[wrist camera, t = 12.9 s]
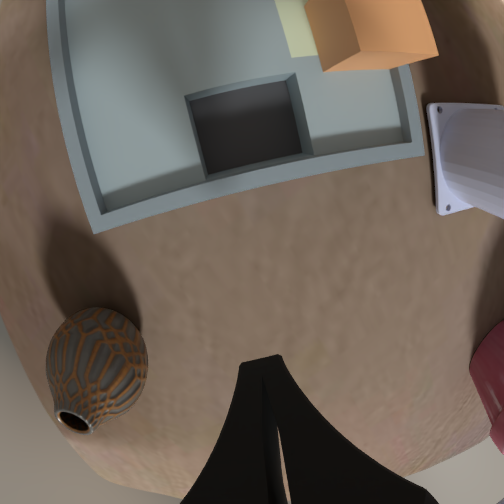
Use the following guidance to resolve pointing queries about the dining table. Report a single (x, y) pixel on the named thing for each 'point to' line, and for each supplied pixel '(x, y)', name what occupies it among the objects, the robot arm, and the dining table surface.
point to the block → (369, 33)
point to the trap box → (210, 102)
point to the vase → (95, 368)
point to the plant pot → (491, 380)
